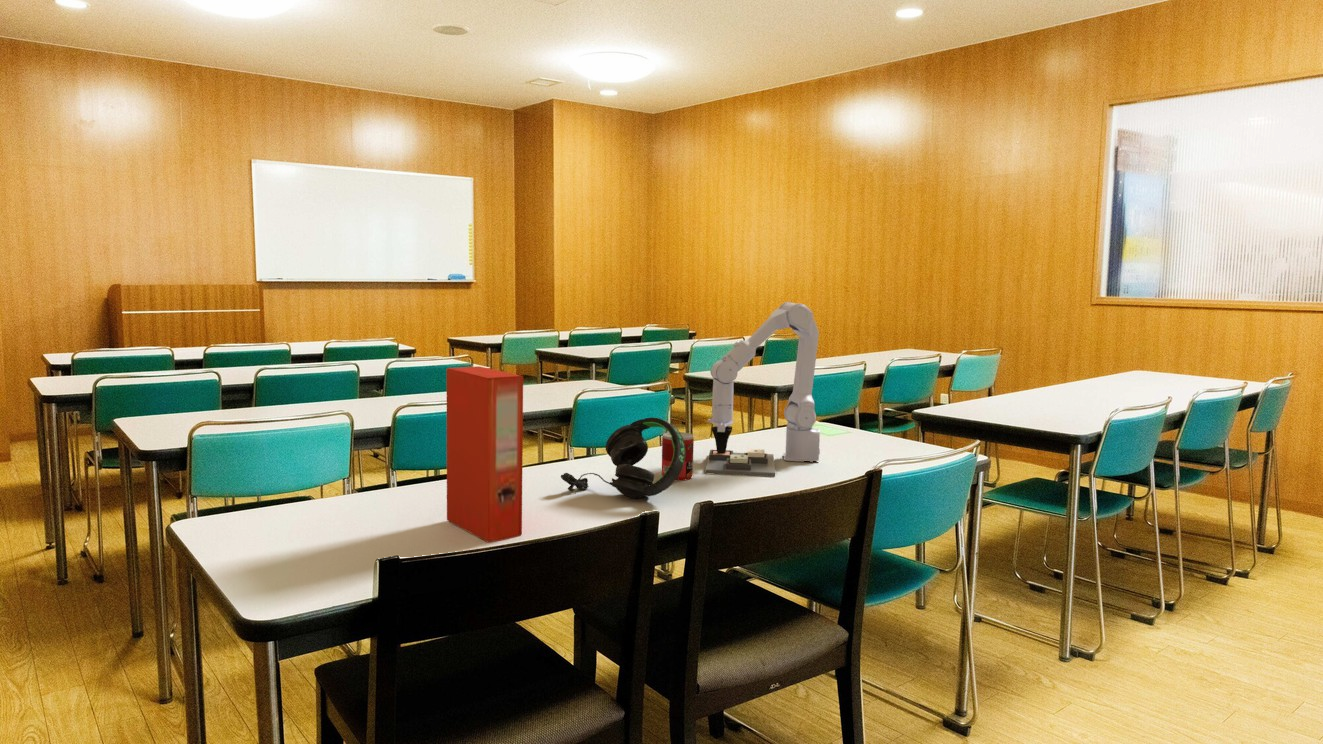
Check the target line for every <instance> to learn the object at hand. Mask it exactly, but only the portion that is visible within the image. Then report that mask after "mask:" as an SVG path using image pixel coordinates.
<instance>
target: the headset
mask: <svg viewBox="0 0 1323 744" xmlns="http://www.w3.org/2000/svg"><path fill="white" fill-rule="evenodd" d="M650 428H663V429H664V430H666V431H667V433H668V432H669V433H670V435H671V440H672V444H673V448H674V455H673V459H672V462H671V464H670V466H669V468H668V470H667V471H666V473H665V474H664V475H663V476H662V475H661V477H660V478H659V479H658V480H656V481H655V482H654V480H655V474H654V472H653V471H650V470H648V469H646V468H643V467H640V466H635V465H636V464H638V463H639V462H640V461H642V460H643V459H644V458H645V456H646V455H647V453H648V451H649V445H648V443H647V441H646V440H645V437H644V436H643V431H646V430H648V429H650ZM680 432H681V431H680V430H679V429H678V428H677V427H676V426H674V425H673V424H671V423H670V422H668V421H666V420H664V419H662V418H658V417H654V416H653V417H645V418H641V419H637V420H635V421H634V422H632V423H629V424H626V425H622V426H621V427H619V428H617V429H616V430H615V431H614V432H613V433H611V434H610V436H609V437H608V439H607V440H606V443H605V451H606V453H607V455H608V456H609V457H610V459H611V463H612V464H613V465H614V466H615V474H614V475H615V477H617V478H616V479H615V478H611V481H610V482H609V481H607V480H605V479H604V477H602V476H601V475H600V474H598V473H596V472H595V473H594V472H587V473H584V474H581V475H580V476H579V478H578V479H577V478H575V476H574V475H572V474H570V473H568V472H564V473H563V474H561V475H560V478H561V479H562V480H563V482H565V483H567V484H568V485H570V486H569V487H568V488H567V490H568V491H569V492H570V493H573V494H575V495H576V494H577V493H576V492H575V489H574V487H575V488H576V489H577V490H578V491H579V490H580V491H581V490H582V489H588V488H589V483H588V482H589V479H588V478H587V477H584V476H586V475H594V476H597V477H599V478H600V479H601V480H602V482H605V483H606V484H607V485H608V484H609V485H610V486H612V487H613V488H615V489H616V490H617V491H618V492H619V493H620V494H621V495H623V496H624V497H628V498H631V497H632V498H631V499H639V498H642V497H651V496H657V495H659V494H661V493H663V492H664V491H665V490H667V489H669V487H671V486H672V485H673V484H674V483H675V481H677V480H676V479H677V478H678V476H679V475H680V473H681V470H682V468H683V465H684V462H685V443H684V440H683V437H682V435H681V433H680ZM583 477H584V478H583Z"/></svg>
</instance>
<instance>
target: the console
mask: <svg viewBox="0 0 1323 744" xmlns="http://www.w3.org/2000/svg"><path fill="white" fill-rule="evenodd" d="M713 451H717V449H710V450H709V453H708V458H707V462H706V467H705V474H706V473H714V474H713V475H731V476H733V475H736V476H751V477H752V476H754V477H774V478H775V477H776V466H775V457H774V454H773V453H765V456H764V457H748V464H746V463H730V455H747V452H734V450H730V449H729V450H728V449H726V451H727V452H730V455H716V454H713Z"/></svg>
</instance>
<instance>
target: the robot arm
mask: <svg viewBox="0 0 1323 744" xmlns="http://www.w3.org/2000/svg"><path fill="white" fill-rule="evenodd" d="M789 328H790V329H791V330H792V331H793V332H794V333H795V334H796V335H797V337H798V344H797V351H796V352H797V353H796V364H795V368H794V369H795V370H794V371H795V372H794V378H793V387H792V393H791V394H790V396H789V397H788V402H787V404H786V406H785V408H784V410H783V415H784V419H785V420H786V421H787V423H786V429H785V430H786V431H785V453H783V460H784V461H786V462H804V461H810V462H809V463H814V462H813V461H816V462H815V463H818V462H817V461H819V462H820V452H821V451H820V450H821V449H820V442H821V441H820V437H821V434H820V432H821V431H820V429H819V428H813V427H814V425H815V424H816V421H817V414H816V411H815V405H816V404H815V400H814V398H813V395H812V393H813V386H814V378H815V377H814V376H815V370H816V368H815V367H816V361H817V355H818V354H817V352H818V344H819V336H820V332H819V328H818V325H817V323H816V321H815V318H814V312H813V311H812V310H811V309H810V308H809V307H808V306H807V305H806V304H803V303H794V302H791V301H786V302H783V303H782V304H781V305H780V306H779V307H778V308H776V309H774V310H773V312H772V313H771V314H770V316H768V317H767V319H766V320H765V321H764V322H763V323H762V324H761V325H760V326H759V327H758V328H757V330H755V331H754V332H753V334H752V335H751V336H749V338H747V340H740V341H739V342H737V341H736V342H734V344H733V347H732V348H731V349H730V350H729V351H728V352H727V353H726V354H725V355H722V356H721V357H720V358H721V360H717V361H715V362H714V363H713V364H712V368H711V369H710V371H709V372H710V375H711V377H712V378H713V382H712V401H711V404H712V406H711V411H712V412H711V418H708V419H707V423H711V424H713V425H714V426H712V427H711V432H712V434H713V436H714V441H715V447H716V450H717V453H725V452H726V450H727V446H728V442H729V438H730V435H731V434H732V431H733V426H732V425H733V424H734V420H733V419H734V393H735V392H734V390H735V389H734V385H735V384H734V383H735V382H734V381H735V380H736V379H737V377H738V372H740V371H741V370H742V369H743V368H744V367H745V366H746V365H747V364H748V363H749V362H751V360H752V359H754V357H756V352H757V351H756V350H757V349H758V348H759V347H760V346H761V345H762V344H763V343H764V342H765V341H767V340H768V338H770V337H771V336H772V335H773V334H774V333H775V332H776V331H779V330H782V329H783V330H784V329H789Z"/></svg>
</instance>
